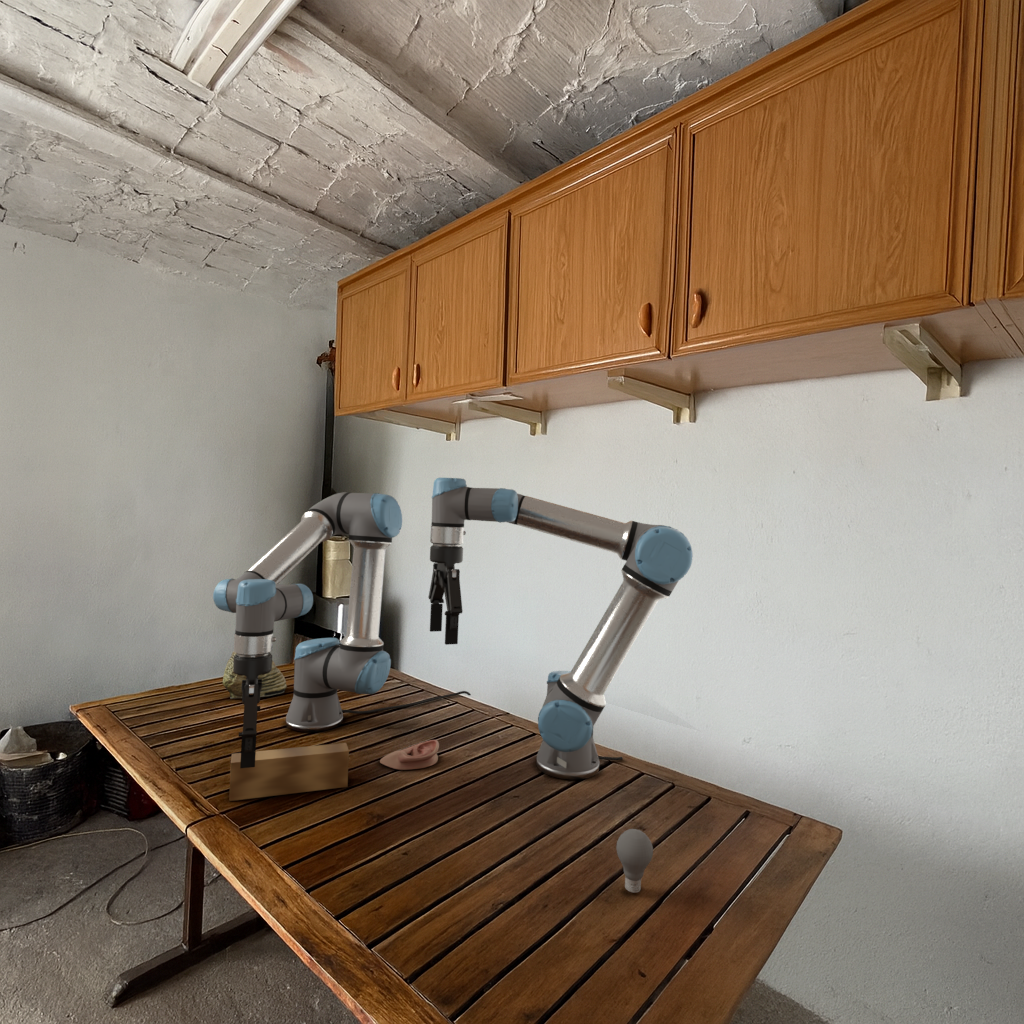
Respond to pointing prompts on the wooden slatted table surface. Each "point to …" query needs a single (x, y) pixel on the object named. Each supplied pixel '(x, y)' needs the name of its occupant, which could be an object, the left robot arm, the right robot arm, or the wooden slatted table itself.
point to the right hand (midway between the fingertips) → (443, 637)
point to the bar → (290, 771)
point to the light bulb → (634, 857)
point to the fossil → (270, 681)
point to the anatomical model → (413, 756)
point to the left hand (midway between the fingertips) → (248, 754)
